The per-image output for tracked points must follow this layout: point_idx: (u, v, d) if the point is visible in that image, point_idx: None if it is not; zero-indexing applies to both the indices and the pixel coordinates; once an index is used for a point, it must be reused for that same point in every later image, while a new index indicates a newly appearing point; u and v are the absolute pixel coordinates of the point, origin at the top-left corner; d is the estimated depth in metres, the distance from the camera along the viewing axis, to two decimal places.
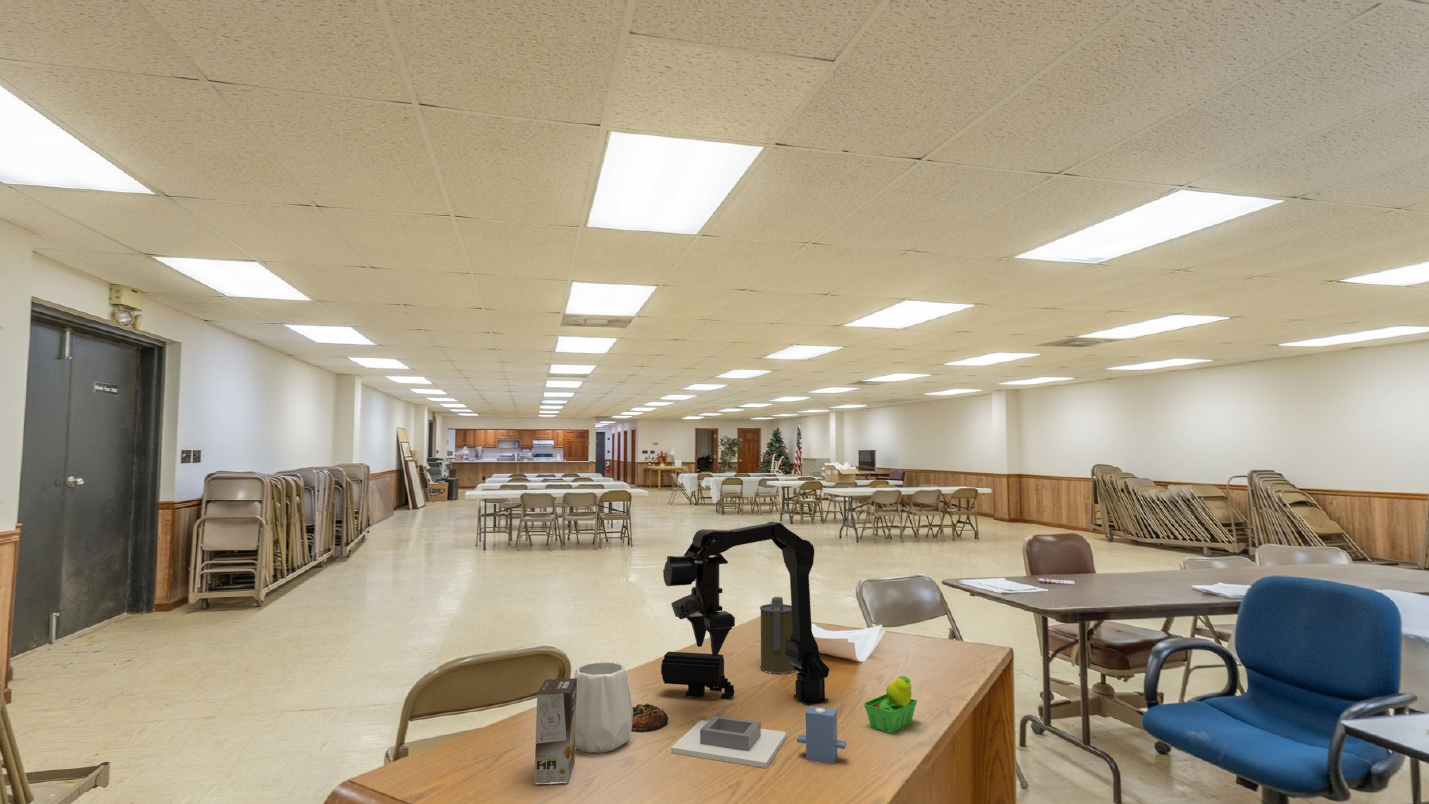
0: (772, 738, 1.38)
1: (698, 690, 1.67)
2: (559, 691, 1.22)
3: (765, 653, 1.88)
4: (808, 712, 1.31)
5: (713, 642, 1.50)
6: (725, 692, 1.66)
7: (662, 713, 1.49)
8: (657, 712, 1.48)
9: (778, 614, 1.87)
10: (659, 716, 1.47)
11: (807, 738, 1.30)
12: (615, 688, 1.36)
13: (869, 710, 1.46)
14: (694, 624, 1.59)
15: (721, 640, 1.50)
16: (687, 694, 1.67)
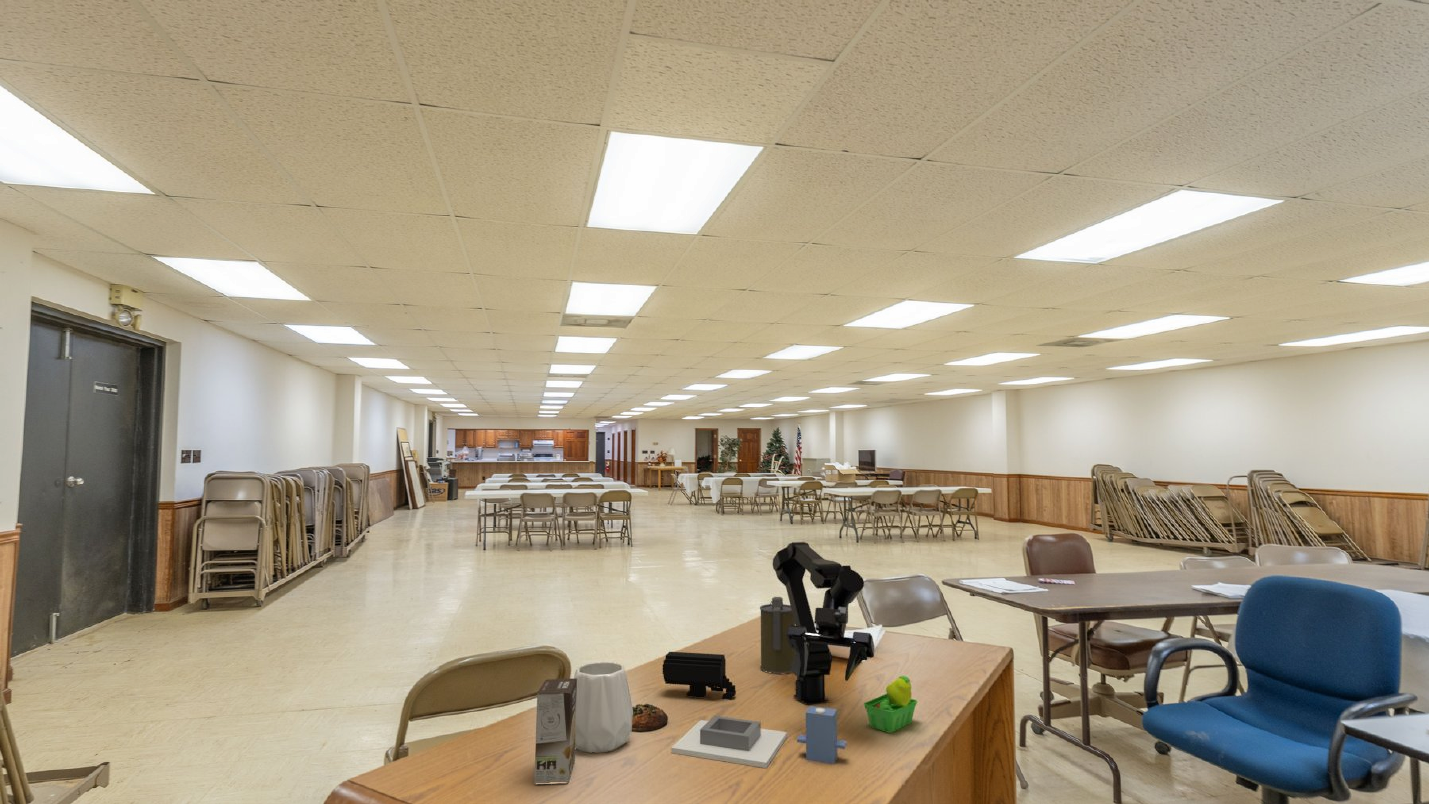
0: (772, 738, 1.38)
1: (699, 690, 1.66)
2: (559, 691, 1.22)
3: (765, 653, 1.88)
4: (808, 712, 1.31)
5: (853, 663, 1.39)
6: (726, 692, 1.65)
7: (662, 713, 1.49)
8: (657, 712, 1.48)
9: (778, 614, 1.87)
10: (659, 716, 1.47)
11: (807, 738, 1.30)
12: (615, 688, 1.36)
13: (869, 710, 1.46)
14: (804, 648, 1.44)
15: (854, 666, 1.41)
16: (688, 694, 1.67)
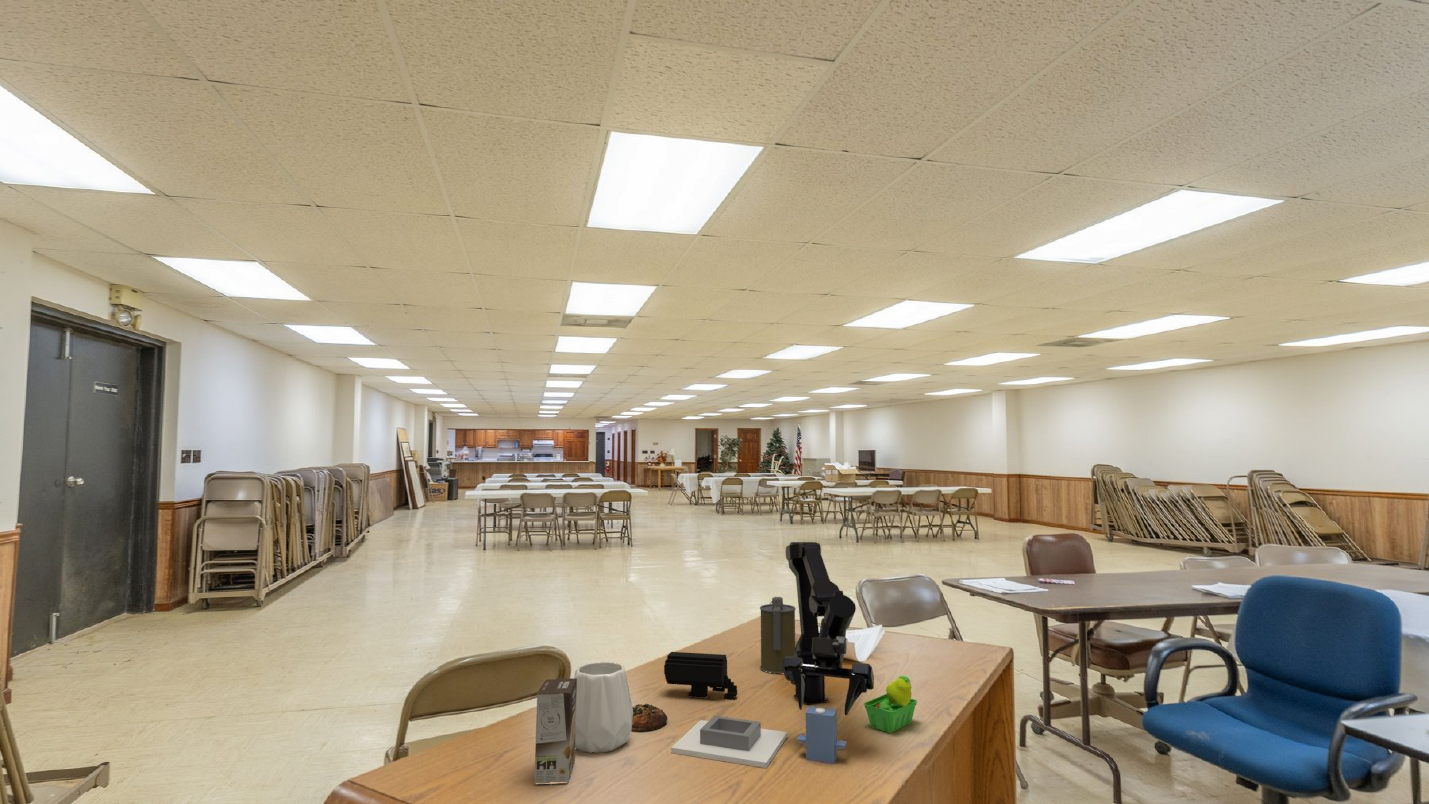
0: (772, 738, 1.38)
1: (701, 690, 1.66)
2: (559, 691, 1.22)
3: (765, 653, 1.88)
4: (808, 712, 1.31)
5: (852, 696, 1.33)
6: (728, 692, 1.65)
7: (661, 713, 1.49)
8: (656, 712, 1.48)
9: (778, 614, 1.87)
10: (658, 716, 1.47)
11: (807, 738, 1.30)
12: (615, 688, 1.36)
13: (869, 710, 1.46)
14: (801, 681, 1.38)
15: (854, 700, 1.34)
16: (690, 694, 1.67)
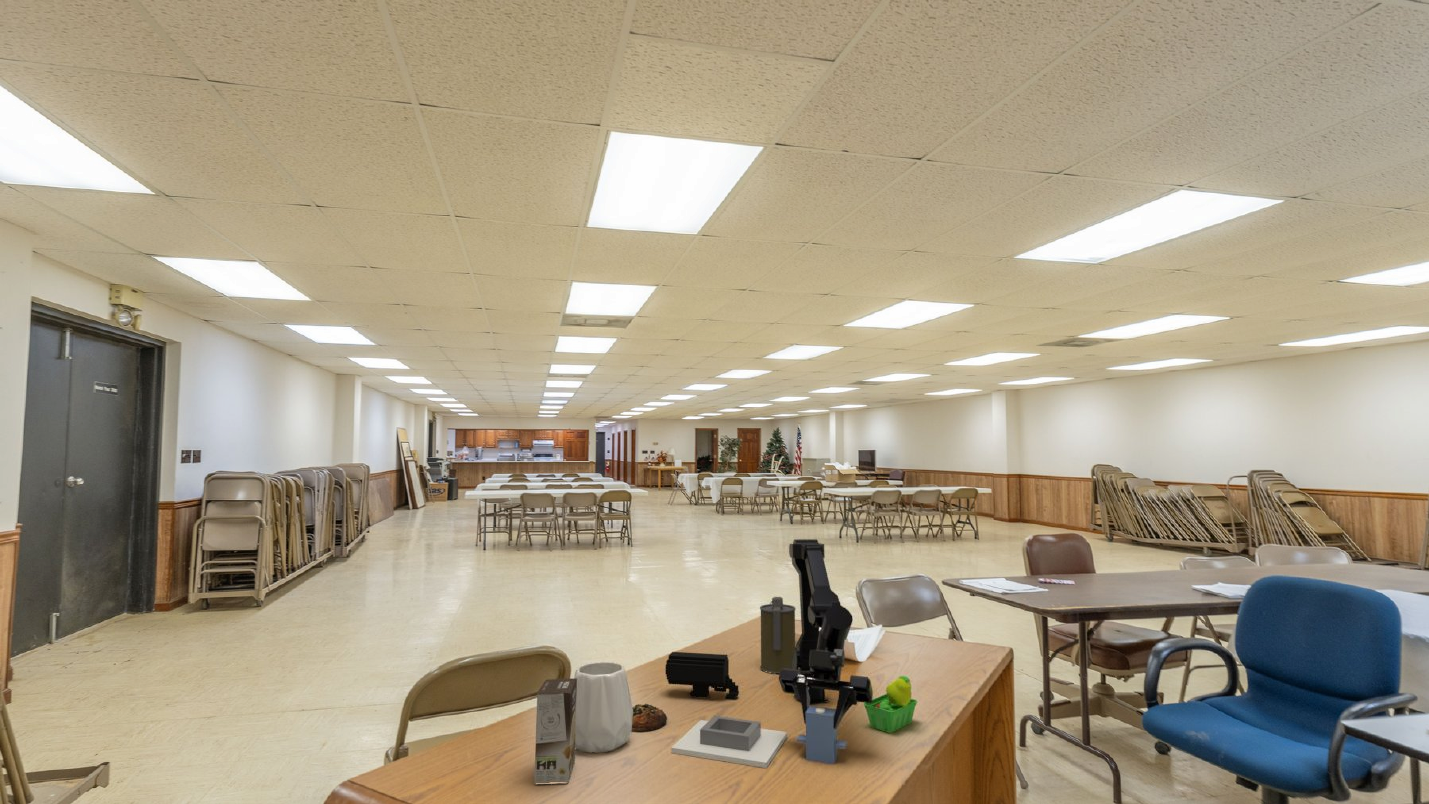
0: (772, 738, 1.38)
1: (702, 690, 1.66)
2: (559, 691, 1.22)
3: (765, 653, 1.88)
4: (808, 712, 1.31)
5: (842, 709, 1.31)
6: (730, 692, 1.65)
7: (661, 713, 1.49)
8: (656, 712, 1.48)
9: (778, 614, 1.87)
10: (658, 716, 1.47)
11: (807, 738, 1.30)
12: (615, 688, 1.36)
13: (869, 710, 1.46)
14: (806, 695, 1.35)
15: (843, 712, 1.32)
16: (691, 694, 1.67)
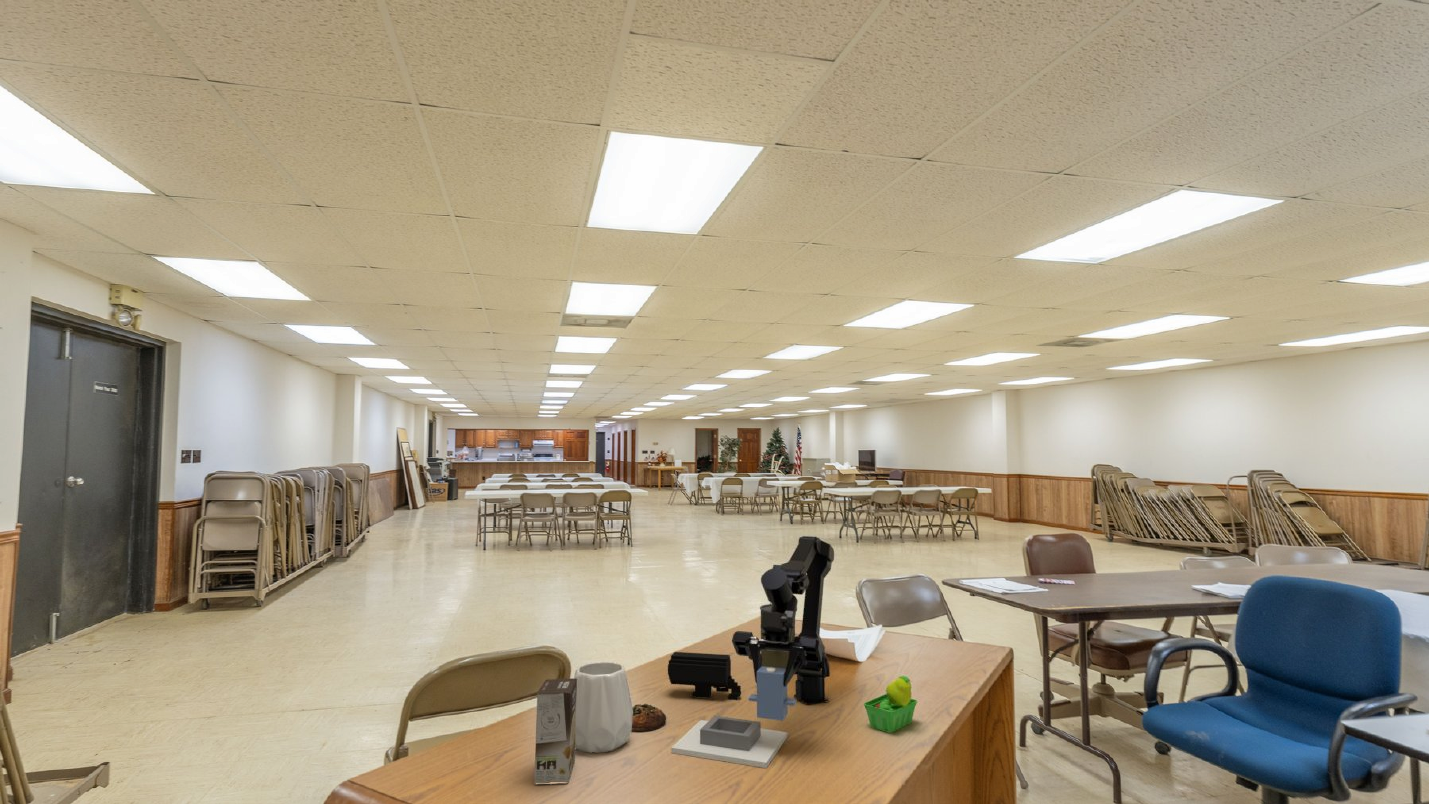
0: (772, 738, 1.38)
1: (705, 690, 1.66)
2: (559, 691, 1.22)
3: (765, 653, 1.88)
4: (759, 671, 1.35)
5: (791, 668, 1.35)
6: (732, 692, 1.65)
7: (660, 713, 1.49)
8: (655, 712, 1.48)
9: None
10: (657, 716, 1.47)
11: (758, 696, 1.34)
12: (615, 688, 1.36)
13: (869, 710, 1.46)
14: (758, 655, 1.39)
15: (793, 672, 1.36)
16: (694, 694, 1.67)
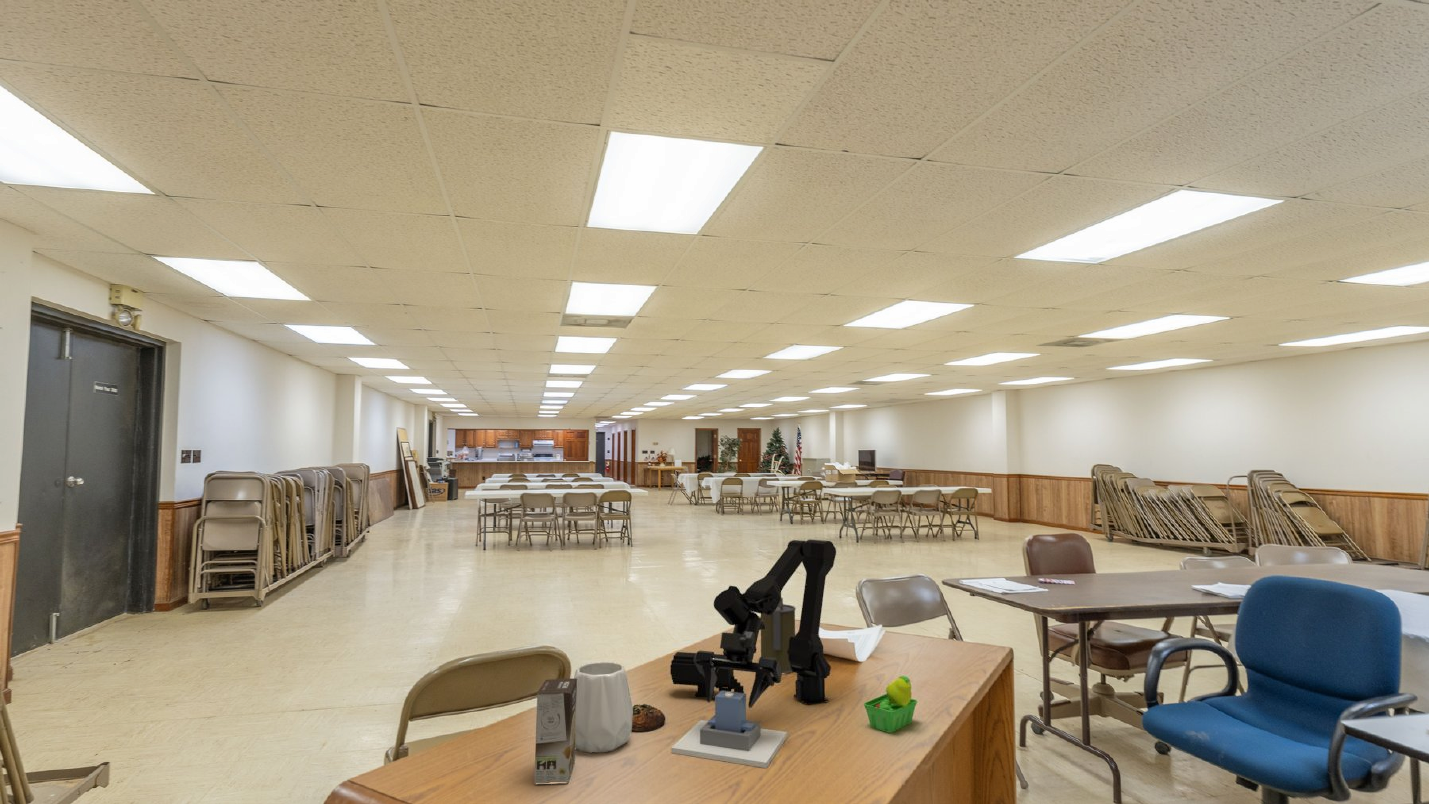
0: (772, 738, 1.38)
1: None
2: (559, 691, 1.22)
3: (765, 653, 1.88)
4: (717, 696, 1.37)
5: (757, 689, 1.37)
6: None
7: (659, 713, 1.49)
8: (654, 712, 1.48)
9: (778, 614, 1.87)
10: (656, 716, 1.47)
11: (716, 720, 1.37)
12: (615, 688, 1.36)
13: (869, 710, 1.46)
14: (711, 674, 1.42)
15: (760, 693, 1.38)
16: (696, 695, 1.67)
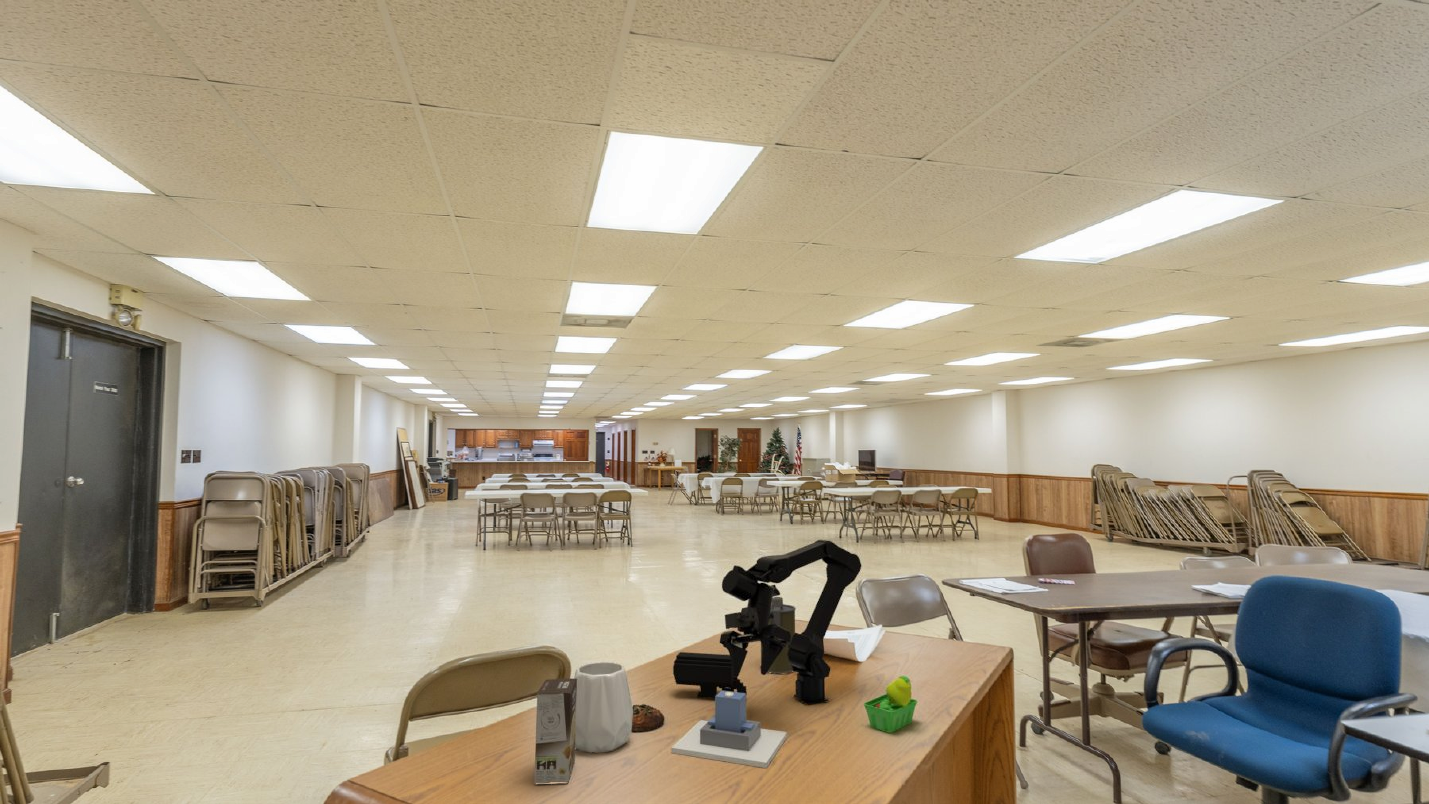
0: (772, 738, 1.38)
1: (710, 690, 1.66)
2: (559, 691, 1.22)
3: None
4: (717, 696, 1.37)
5: (766, 656, 1.46)
6: None
7: (658, 713, 1.49)
8: (653, 712, 1.48)
9: (778, 614, 1.87)
10: (655, 716, 1.47)
11: (716, 720, 1.37)
12: (615, 688, 1.36)
13: (869, 710, 1.46)
14: (734, 652, 1.54)
15: (772, 658, 1.47)
16: (699, 695, 1.66)
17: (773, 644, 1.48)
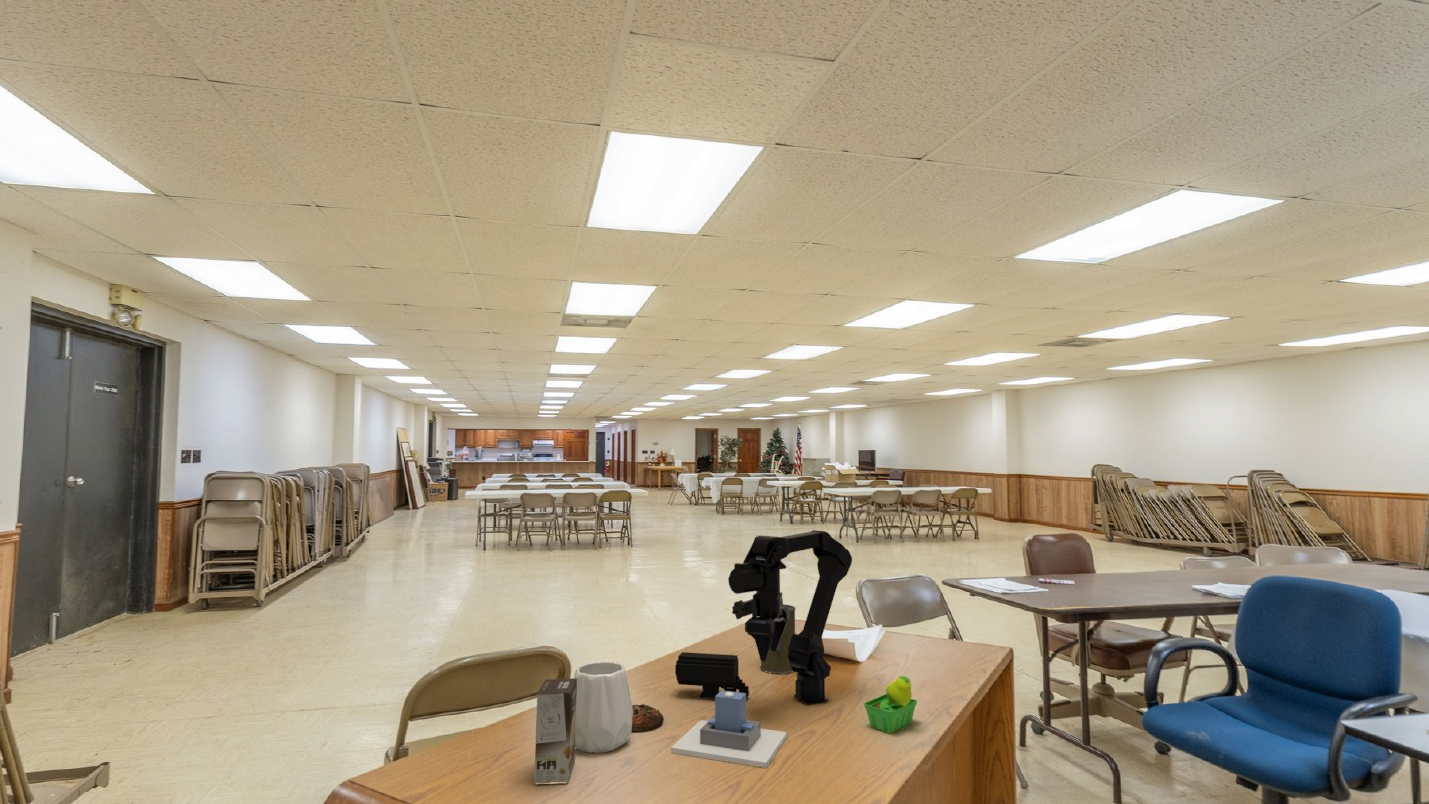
0: (772, 738, 1.38)
1: (712, 691, 1.66)
2: (559, 691, 1.22)
3: None
4: (717, 696, 1.37)
5: (757, 646, 1.52)
6: None
7: (657, 714, 1.48)
8: (652, 712, 1.48)
9: None
10: (654, 717, 1.47)
11: (716, 720, 1.37)
12: (615, 688, 1.36)
13: (869, 710, 1.46)
14: None
15: (766, 646, 1.51)
16: (701, 695, 1.66)
17: None
